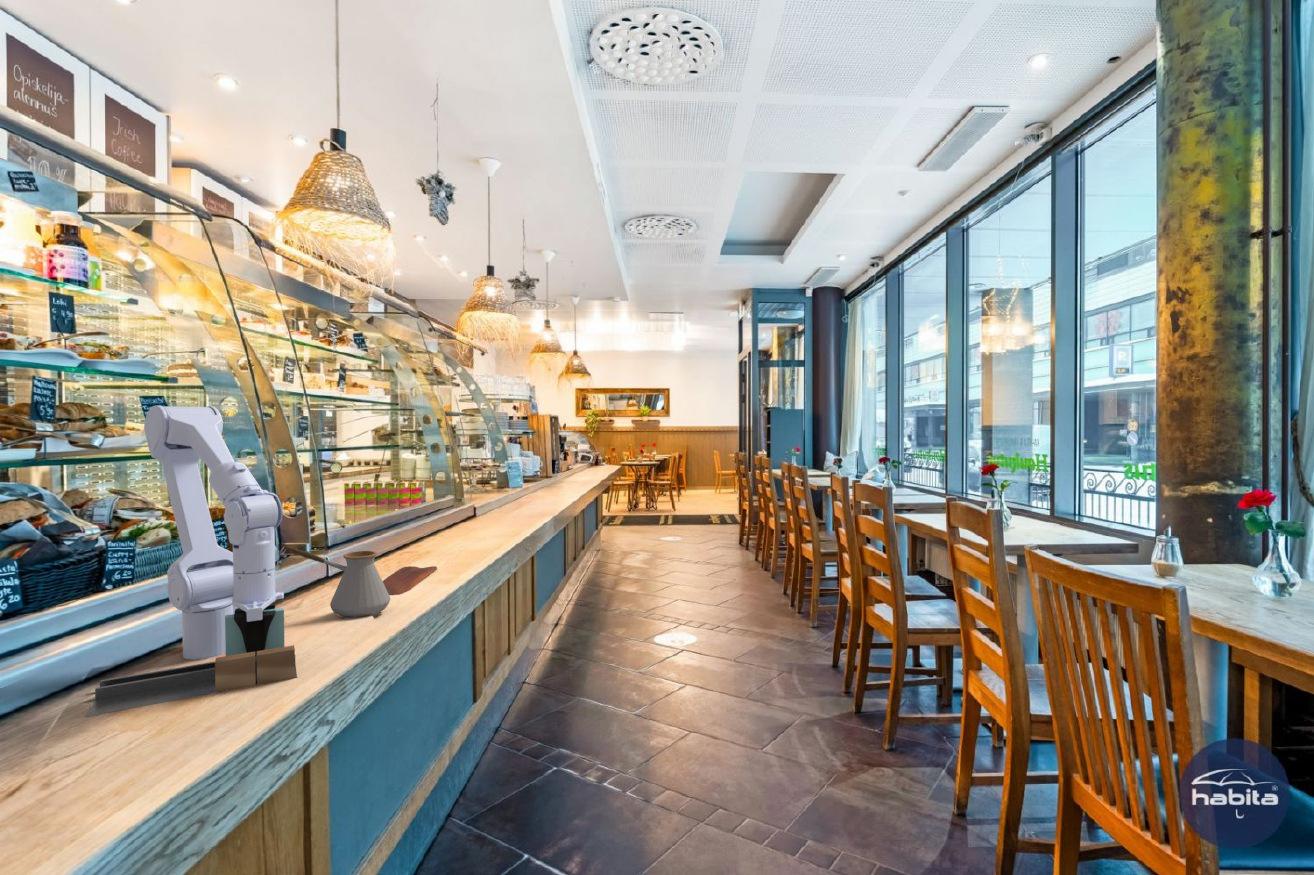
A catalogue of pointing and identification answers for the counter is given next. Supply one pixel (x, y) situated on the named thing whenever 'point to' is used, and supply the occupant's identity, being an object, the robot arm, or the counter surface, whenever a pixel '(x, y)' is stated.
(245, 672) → the offcut
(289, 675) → the offcut
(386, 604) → the coffee pot
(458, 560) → the counter surface
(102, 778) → the counter surface
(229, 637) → the teal slab
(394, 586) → the wooden tablet
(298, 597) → the counter surface
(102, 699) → the rack
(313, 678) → the counter surface
